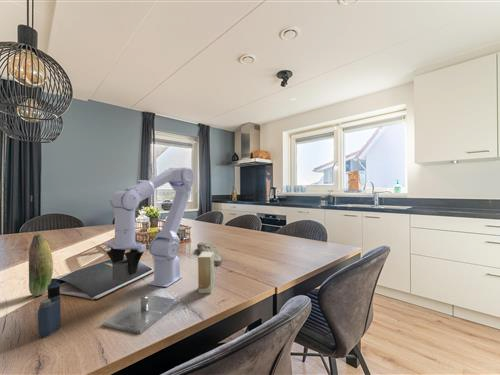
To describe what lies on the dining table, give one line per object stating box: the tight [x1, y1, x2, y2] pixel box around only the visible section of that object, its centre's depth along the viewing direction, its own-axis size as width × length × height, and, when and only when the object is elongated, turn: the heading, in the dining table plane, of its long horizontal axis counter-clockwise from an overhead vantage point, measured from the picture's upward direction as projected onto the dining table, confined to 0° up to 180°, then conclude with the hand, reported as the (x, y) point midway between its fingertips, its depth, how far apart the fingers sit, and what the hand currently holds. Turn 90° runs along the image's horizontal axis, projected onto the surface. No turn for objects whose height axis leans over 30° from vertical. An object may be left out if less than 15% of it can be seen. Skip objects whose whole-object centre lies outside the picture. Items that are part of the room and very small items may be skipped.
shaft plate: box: [102, 294, 181, 335], centre depth 68 cm, size 16×12×4 cm
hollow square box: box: [111, 258, 139, 283], centre depth 76 cm, size 5×5×5 cm
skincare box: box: [197, 252, 215, 294], centre depth 83 cm, size 6×4×12 cm
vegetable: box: [28, 234, 54, 297], centre depth 80 cm, size 6×6×20 cm
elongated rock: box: [196, 242, 223, 267], centre depth 123 cm, size 35×5×10 cm
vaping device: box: [37, 279, 62, 338], centre depth 59 cm, size 3×5×12 cm, turn 2°
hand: (125, 272), depth 76 cm, fingers closed on hollow square box, 5 cm apart
